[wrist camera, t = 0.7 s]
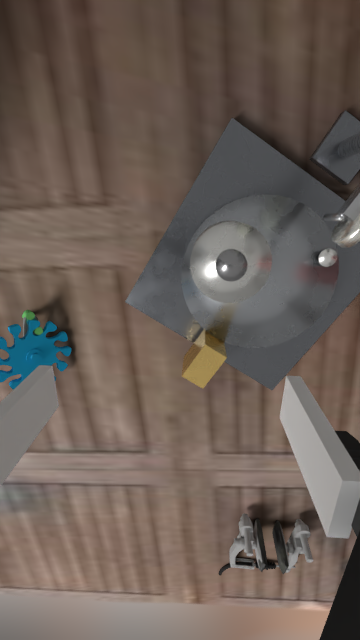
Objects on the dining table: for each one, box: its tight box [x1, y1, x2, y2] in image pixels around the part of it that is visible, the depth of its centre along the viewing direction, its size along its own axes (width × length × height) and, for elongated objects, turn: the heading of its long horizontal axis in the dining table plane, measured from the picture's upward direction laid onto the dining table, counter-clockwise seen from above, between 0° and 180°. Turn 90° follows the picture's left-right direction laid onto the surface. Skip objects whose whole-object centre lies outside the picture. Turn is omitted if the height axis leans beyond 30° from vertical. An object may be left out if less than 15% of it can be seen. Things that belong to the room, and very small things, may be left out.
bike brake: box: [219, 514, 313, 575], centre depth 52 cm, size 14×7×20 cm
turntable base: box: [125, 118, 360, 390], centre depth 36 cm, size 24×24×1 cm
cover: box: [190, 220, 272, 303], centre depth 31 cm, size 8×8×6 cm
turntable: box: [181, 194, 339, 388], centre depth 34 cm, size 18×23×6 cm
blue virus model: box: [0, 310, 71, 389], centre depth 40 cm, size 11×6×10 cm
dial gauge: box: [310, 110, 360, 248], centre depth 26 cm, size 5×12×15 cm, turn 148°
